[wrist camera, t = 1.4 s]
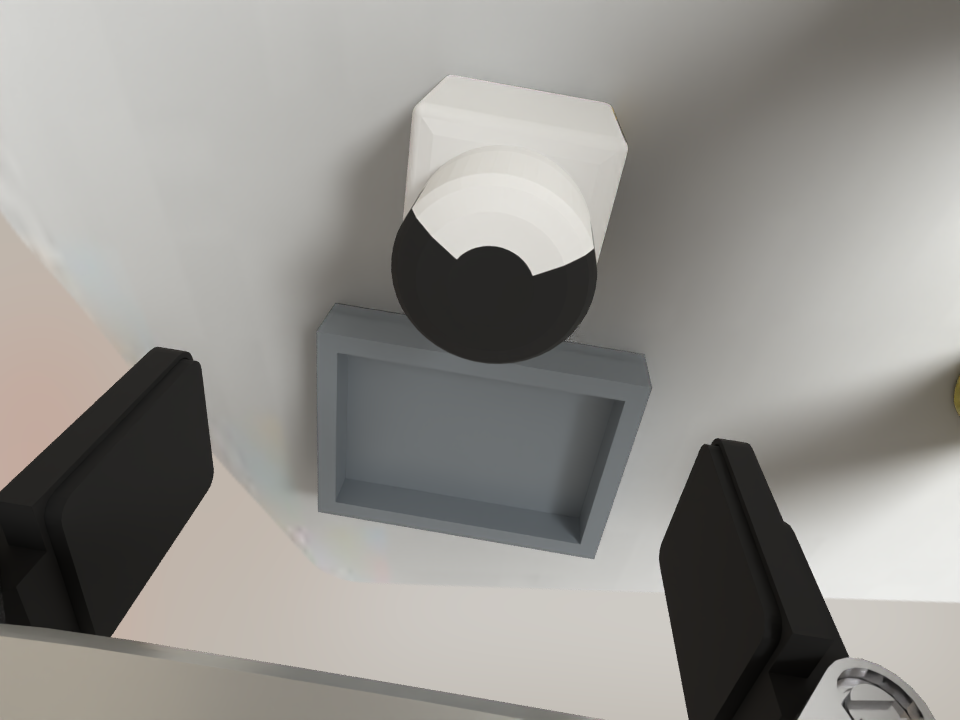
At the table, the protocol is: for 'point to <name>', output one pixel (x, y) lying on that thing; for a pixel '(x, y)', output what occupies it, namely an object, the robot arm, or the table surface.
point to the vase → (957, 396)
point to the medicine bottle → (504, 216)
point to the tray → (472, 434)
